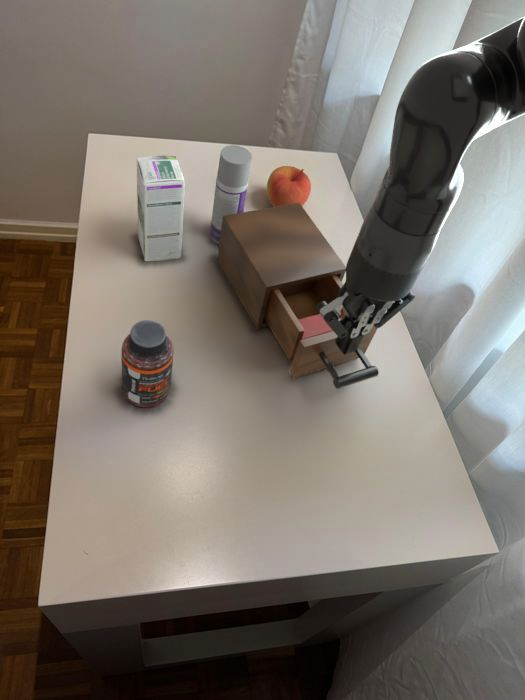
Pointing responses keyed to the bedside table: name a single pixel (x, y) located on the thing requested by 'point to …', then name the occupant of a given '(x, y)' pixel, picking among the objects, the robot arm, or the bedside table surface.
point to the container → (230, 186)
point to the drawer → (315, 350)
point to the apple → (288, 186)
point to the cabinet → (273, 254)
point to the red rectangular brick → (315, 326)
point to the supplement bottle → (147, 364)
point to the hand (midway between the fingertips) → (345, 347)
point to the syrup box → (160, 207)
